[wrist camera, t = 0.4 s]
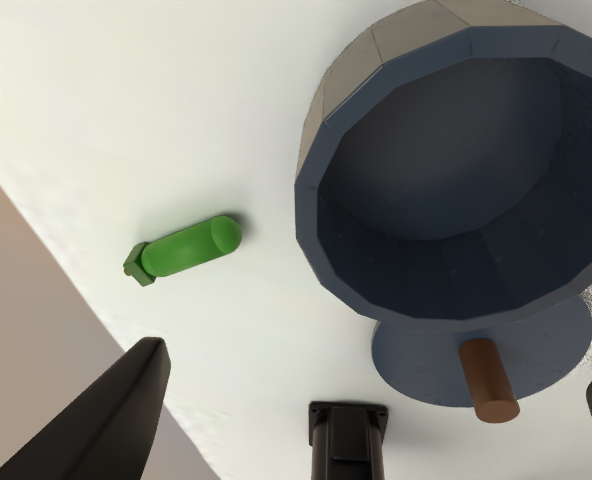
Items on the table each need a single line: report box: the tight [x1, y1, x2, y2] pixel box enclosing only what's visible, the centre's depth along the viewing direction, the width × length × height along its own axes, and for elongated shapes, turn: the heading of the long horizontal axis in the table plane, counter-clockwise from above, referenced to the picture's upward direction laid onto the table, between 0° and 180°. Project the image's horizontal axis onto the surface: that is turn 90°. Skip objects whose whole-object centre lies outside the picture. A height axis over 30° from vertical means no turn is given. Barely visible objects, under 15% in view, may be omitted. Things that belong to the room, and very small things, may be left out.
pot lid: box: [371, 294, 592, 423], centre depth 26 cm, size 14×14×6 cm
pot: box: [294, 0, 592, 333], centre depth 18 cm, size 13×13×6 cm
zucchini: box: [123, 216, 242, 287], centre depth 24 cm, size 8×2×2 cm, turn 116°
